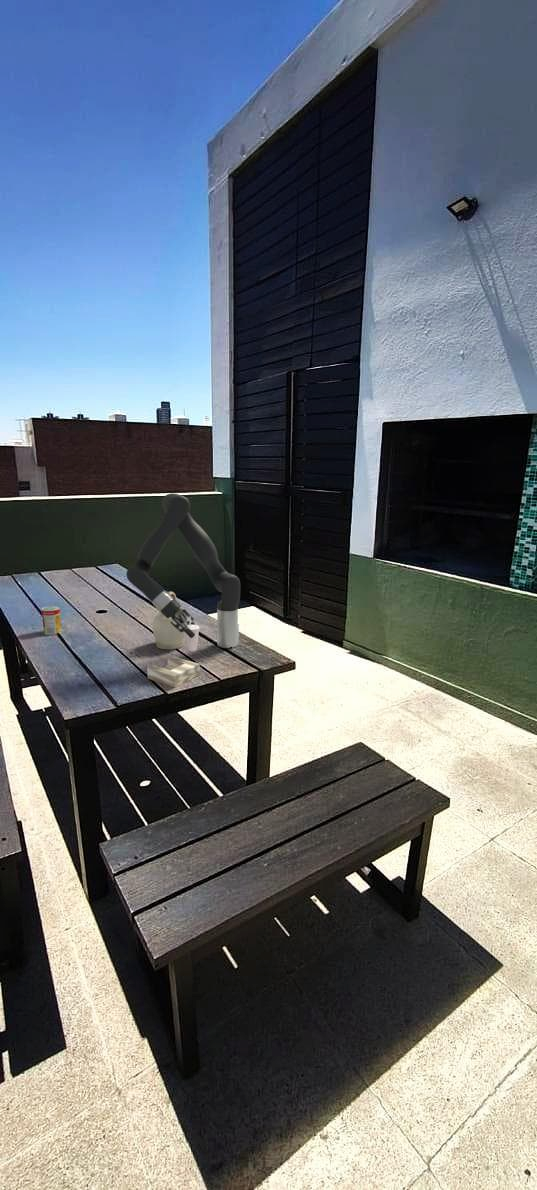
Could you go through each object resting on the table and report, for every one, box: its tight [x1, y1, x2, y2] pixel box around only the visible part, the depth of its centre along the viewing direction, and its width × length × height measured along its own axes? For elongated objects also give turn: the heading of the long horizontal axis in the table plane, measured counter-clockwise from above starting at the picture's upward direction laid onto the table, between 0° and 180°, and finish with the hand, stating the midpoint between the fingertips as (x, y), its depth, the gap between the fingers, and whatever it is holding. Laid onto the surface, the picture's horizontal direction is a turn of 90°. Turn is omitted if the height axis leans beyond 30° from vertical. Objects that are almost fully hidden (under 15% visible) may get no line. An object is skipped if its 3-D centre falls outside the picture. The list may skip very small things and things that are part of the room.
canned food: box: [41, 605, 63, 636], centre depth 232 cm, size 8×8×12 cm
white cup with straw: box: [185, 617, 200, 652], centre depth 196 cm, size 6×6×14 cm
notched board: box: [146, 655, 201, 688], centre depth 187 cm, size 14×14×4 cm
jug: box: [151, 591, 187, 650], centre depth 218 cm, size 15×16×25 cm
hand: (195, 633), depth 196 cm, fingers closed on white cup with straw, 6 cm apart
